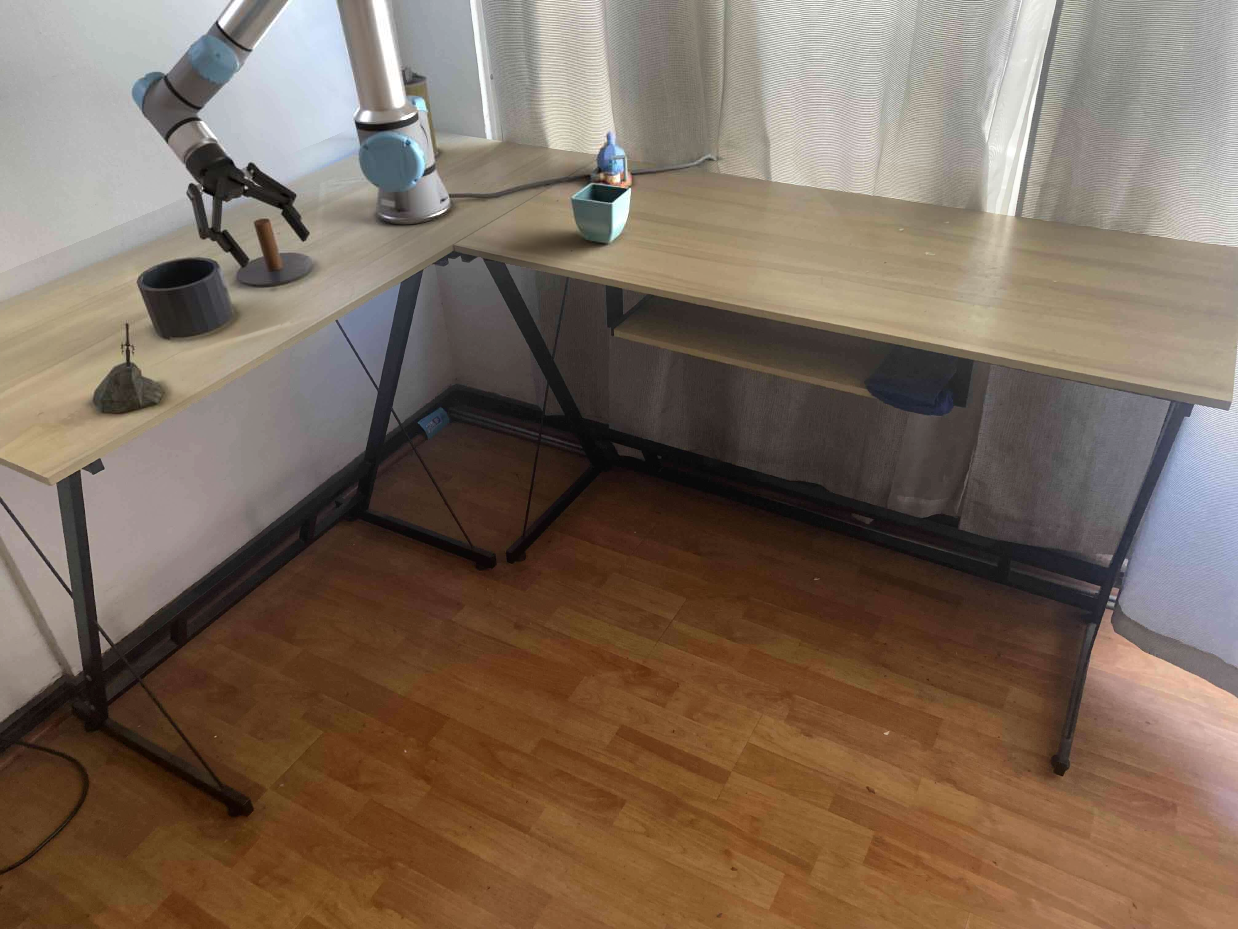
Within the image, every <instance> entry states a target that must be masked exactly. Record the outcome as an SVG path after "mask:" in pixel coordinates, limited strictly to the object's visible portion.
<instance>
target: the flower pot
mask: <svg viewBox="0 0 1238 929" xmlns="http://www.w3.org/2000/svg"><path fill="white" fill-rule="evenodd" d="M631 192H632V189H631V188H630V187H618V186H610V185H603V184H596V183H591V184H590V183H589V184H587V185H586V186H584V187H583V188H582V189H581V190H579V191H577V193H576V192H575V194H574V195H572V196H571V197H570V201H571V202H570V203H571V207H572V212H573V218H574V222H575V224H576V227H577V229H578V231H579V233H580V234H581V236H582V237H583V238H584V239H585V240H586V241H590V242H597V243H601V244H603V243H604V244H611V243H612V242H613V241H614V240H615V239H616V238H617V237H618V236H620V234H621V233H622V231H623V229H624V227H625V225H626V223H627V220H628V216H629V211H630V201H631Z"/></svg>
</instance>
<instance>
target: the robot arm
mask: <svg viewBox="0 0 1238 929" xmlns="http://www.w3.org/2000/svg"><path fill="white" fill-rule="evenodd" d="M291 1H292V0H230V1H229V2H228V4H227V5H226V7H225V8H224V9H223V10H222V12H221V13H220V15H219V16H218V17H217V18H216V20H215V21H214V23H212V25H211V27H210V28H209V29H208V31H207V32H206V34H203V35H201V36H200V37H199V38H198V39H197V40H195V41H194V42H193V43H192V44H191V45H190V46H189V48H188V50H186V51H185V53H184V54H183V55H182V56H181V57H180V59H179V60H178V61H177V62H176V63H175V64H174V66H173V67H172V68H171V69H170V70H169V71H168V72H167V73H166V74H165V73H164V72H162V71H151V72H148V73H146V74H145V75H144V76H143V77H140V78H138V79H137V80H136V81H135V82H134V84H133V86H132V88H131V97H132V100H133V101H134V103H135V104H136V105H137V107H138V108H139V110H140V112H141V114H142V115H143V117H144V118H145V119H146V120H147V121H149V123H150V124H151V125H152V126H153V128H154V129H155V130H156V132H157V133H158V135H160V136H161V138H162V139H163V140H164V141H165V143H166V144H167V145H168V147H169V149H170V150H171V151H172V152H173V153H174V154H175V156H176V157H177V158H178V161H180V162H181V163H182V165H184V166H185V169H186V170H187V171H188V172H189V174H190V176H192V178H193V179H194V180H195V182H196V183H198V184H195V183H193V182H190V183H188V185H187V189H186V192H185V194H186V196H187V197H188V199H189V200H190V202H191V204H192V210H193V214H194V220H195V223H196V227H197V231H198V236H199V239H201V240H203V241H205V240H207V239H209V240H210V241H211V242H216V243H217V245H218V246H219V247H220V248H221V249H222V251H223V252H224V253H226V254H228V253H229V254H230V255H231V256H232V257H233V258H234V260H235V261H236V262H237V263H238V265H239V266H240V267H242V268H244V267H246V266H247V264H248V262H249V261H250V258H249V256H248V255H247V254H246V252H245V251H244V250H243V249H242V248H241V246H240V245H239V243H238V242H237V241H236V240H235V238H234V237H233V235H231V234H230V232H229V231H228V229H226V228H225V229H223V230H222V219H223V218H222V216H223V202H225V203H228V202H231V201H232V200H233V199H239V198H241V197H242V196H243V197H246V198H252V199H255V200H257V201H260V202H262V203H264V204H267V205H268V206H271V207H274V208H276V209H278V210H281V213H280V215H281V216H282V218H283V219H284V221H286V222H287V224H288V225H289V226H290V228H291V229H292V230H293V231H294V233H295V234H296V235H297V237H298V238H299V240H300V241H301V242H302V243H304V242H307V240H308V238H309V236H310V234H311V232H310V231H309V230H308V229H307V227H306V225H305V224H304V223H303V222H302V219H303V217H302V215H301V214H300V213H299V211H298V210H297V209H296V208H295V206H294V205H293V204H294V203H295V201H296V198H297V193H296V192H294V191H292V190H291V189H289V188H288V187H286V186H285V185H284V184H281V183H280V182H278V181H277V180H276V179H274V178H272V177H271V176H269V175H268V174H266V173H265V172H263V171H261V169H259V167H257V165H256V164H255V163H254V162H251V161H250V162H248V163H247V166H245V167H243V168H240V167H238V166H237V165H236V164H235V162H234V160H233V158H232V157H231V155H230V154H229V152H227V150H226V149H225V148H224V146H223V145H222V144H221V143H219V140H218V139H217V137H216V136H215V135H214V134H213V132H212V131H211V130H210V129H209V127H208V125H206V124H205V122H204V121H203V119H201V117H200V115H199V112H201V111H202V110H203V109H204V107H205V106H206V105H207V104H208V103H209V102H210V101H211V100H212V99H213V97H215V95H217V94H218V92H220V90H221V89H222V88H223V87H224V86H225V85H226V84H228V83H229V82H230V80H231V79H233V78H234V75H235V74H236V73H238V72H239V71H240V69H242V67H244V65H245V63H246V61H247V59H248V58H249V56H250V55H251V54H252V53H253V50H254V49H255V48H256V47H257V46H258V44H259V43H260V41H261V40H262V39H263V38H264V36H265V35H266V34H267V33H268V32H269V30H270V29H271V27H272V26H273V25H274V23H275V22H276V21H277V19H278V18H279V17H280V15H281V14H282V13H283V12H284V11H285V9H286V8H287V6H288V5H289V4H290V3H291ZM335 4H336V8H337V12H338V17H339V22H340V25H341V30H342V34H343V38H344V43H345V47H346V48H345V49H346V51H347V57H348V62H349V66H350V70H351V74H352V79H353V82H354V87H355V92H356V95H357V100H358V105H359V107H358V108H357V110H356V111H355V113H354V115H353V121H354V125H355V130H356V133H357V138H358V143H359V150H358V151H359V152H358V162H359V167H360V170H361V172H362V174H363V176H364V177H365V178H366V180H367V181H368V182H369V183H370V184H371V185H373V186H374V187H376V188H377V189H378V191H377V197H376V198H377V199H376V211H377V216H378V219H380V220H381V221H383V222H386V223H389V224H394V225H416V224H422V223H427V222H431V221H435V220H438V219H440V218H442V217H443V216H445V215H447V214H448V213H450V211H451V209H452V204H451V203H452V202H451V199H452V198H453V199H457V198H459V199H460V198H461V199H462V198H472V199H489V198H495V197H497V198H498V197H501V196H504V195H508V194H511V193H514V192H518V191H522V190H526V189H527V190H528V189H532V188H535V187H540V186H544V185H545V186H546V185H550V184H556V183H562V182H569V181H570V182H571V181H576V180H578V181H579V180H586V179H590V178H591V173H587V174H579V175H572V176H564V177H558V178H552V179H546V180H540V181H537V182H531V183H527V184H526V183H525V184H523V185H518V186H515V187H511V188H507V189H504V190H501V191H497V192H496V191H495V192H489V193H472V192H471V193H468V192H467V193H448V191H447V189H446V186H445V185H444V184H443V181H442V179H441V177H440V175H439V174H438V171H437V166H436V159H435V157H434V153H433V147H432V141H431V135H430V129H429V123H428V117H427V114H428V110H427V109H426V105H425V101H424V100H423V99H422V98H421V97H419V96H410V95H407V96H406V92H405V87H404V82H403V77H402V72H401V67H402V66H401V62H400V58H399V52H398V47H397V42H396V36H395V32H394V27H393V22H392V16H391V12H390V6H389V2H388V0H335ZM710 155H711V154H709V153H707V154H703V155H701V156H700V157H699V158H697V159H696V160H693V161H691V162H686V163H682V164H675V165H667V166H658V167H651V168H641V169H640V168H639V169H630V170H628V169H627V172H630V174H631V175H636V174H648V173H655V172H656V173H657V172H664V171H671V170H678V169H679V170H680V169H685V168H690V167H694V166H696V165H698V164H700V163H701V162H703V161H705V160H706V159H710V160H712V161H717V160H718V159H717V158H716V156H714V155H713V156H710ZM623 172H624V171H623ZM599 174H600V173H599ZM246 187H247V188H246ZM203 193H204V194H206V195H208V196H210V197H212V201H211V202H212V203H211V207H212V210H211V223H210V226H209V222H208V217H207V213H206V212H207V211H206V208H205V204H204V199H203Z"/></svg>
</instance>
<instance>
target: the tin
mask: <svg viewBox="0 0 1238 929" xmlns="http://www.w3.org/2000/svg"><path fill="white" fill-rule="evenodd" d="M136 286H137V287H138V290H139V292H140V295H141V298H142V301H143V304H144V305H145V308H146V311H147V313H148V316H149V318H150V321H151V324H152V326H153V328H154V331H155V333H156V335H157V336H158V337H160V338H161V339H164V340H168V341H169V340H170V341H171V338H189V337H196V336H200V335H203V334H207V333H210V332H213V331H215V330H217V329H219V328H221V327H223V326H225V325H226V324H228V323H229V322H230V321H231V319H232V318H233V317H234V315H235V314H234V313H235V309H234V305H233V303H232V300H231V297H230V294H229V291H228V288H227V285H226V282H225V278H224V275H223V271H222V269H221V265H220V264H219V262H217V260H215V259H212V258H208V257H201V256H195V257H194V256H191V257H183V258H176V259H172V260H167V261H164V262H161V263H159V264H155V265H153V266H151V267H150V268H148V269H145V270H144V271H143V272H142V273H141V274H139V276H138V277H137V279H136Z"/></svg>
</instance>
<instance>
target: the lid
mask: <svg viewBox="0 0 1238 929" xmlns="http://www.w3.org/2000/svg"><path fill="white" fill-rule="evenodd" d="M253 225H254V226H253V227H254V229H255V232H256V236H257V239H258V242H259V246H260V250H261V253H262V256H260V257H257V258H254V259H251V260H249V261H248V264H247V266H246V267H244V268H242V267H241V266H240V267H239V268H238V269H237V271H236V279H237V282H239V283H240V284H242V285H245V286H247V287H252V288H270V287H277V286H283V285H287V284H290V283H292V282H295V281H299V280H301V279H302V278H304V277H306V276H307V275H308V274H310V273H311V272H312V270H314V267H315V264H314V260H313V258H312V257H310V256H309V255H307V254H303V253H300V252H280V251H279V249H278V244H277V240H276V238H275V235H274V230H273V226H272V224H271V220H270V218H260V219H256V220H254V221H253Z"/></svg>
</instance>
